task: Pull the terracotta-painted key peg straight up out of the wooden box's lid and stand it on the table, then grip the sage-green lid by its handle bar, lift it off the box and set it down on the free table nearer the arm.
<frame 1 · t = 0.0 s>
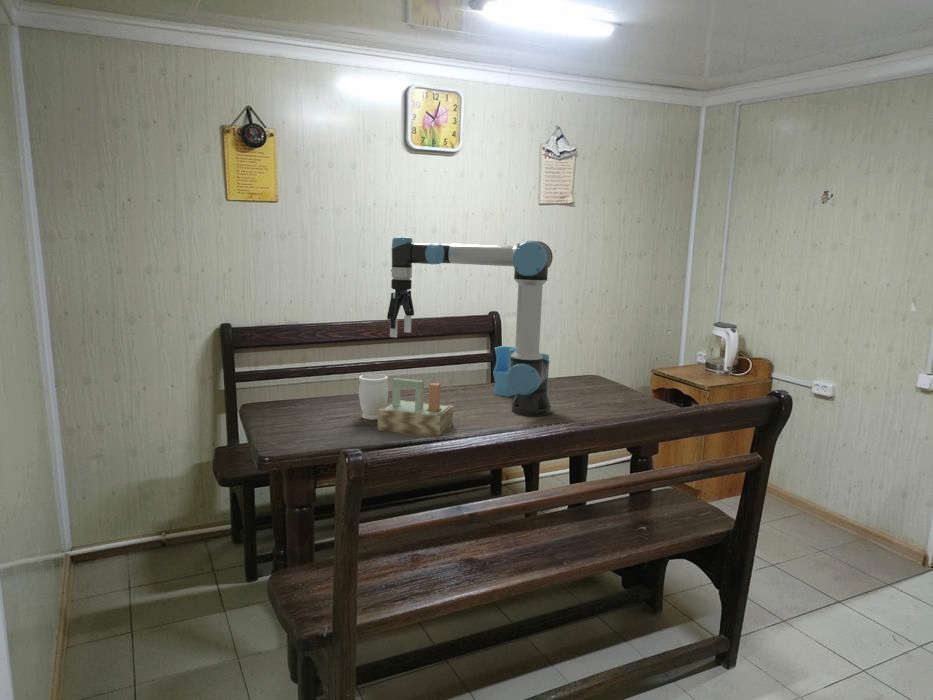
hand: (400, 334, 240), 28 cm above the table, fingers open, 13 cm apart
lid: (416, 410, 217), point 6 cm above the table, touching wooden box
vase: (504, 394, 269), on the table
key peg: (433, 426, 216), point 1 cm above the table, touching wooden box
wooden box: (416, 427, 218), on the table
jar: (373, 417, 229), on the table
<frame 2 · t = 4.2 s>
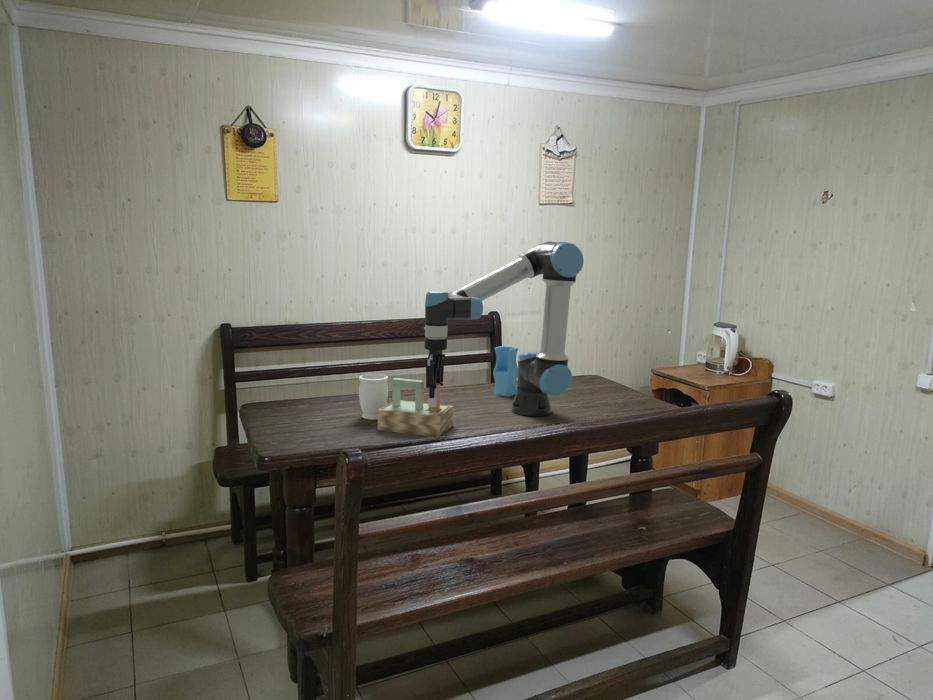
hand: (434, 405, 214), 9 cm above the table, fingers closed on key peg, 3 cm apart
key peg: (433, 426, 216), point 1 cm above the table, touching gripper, wooden box
everything else where it was.
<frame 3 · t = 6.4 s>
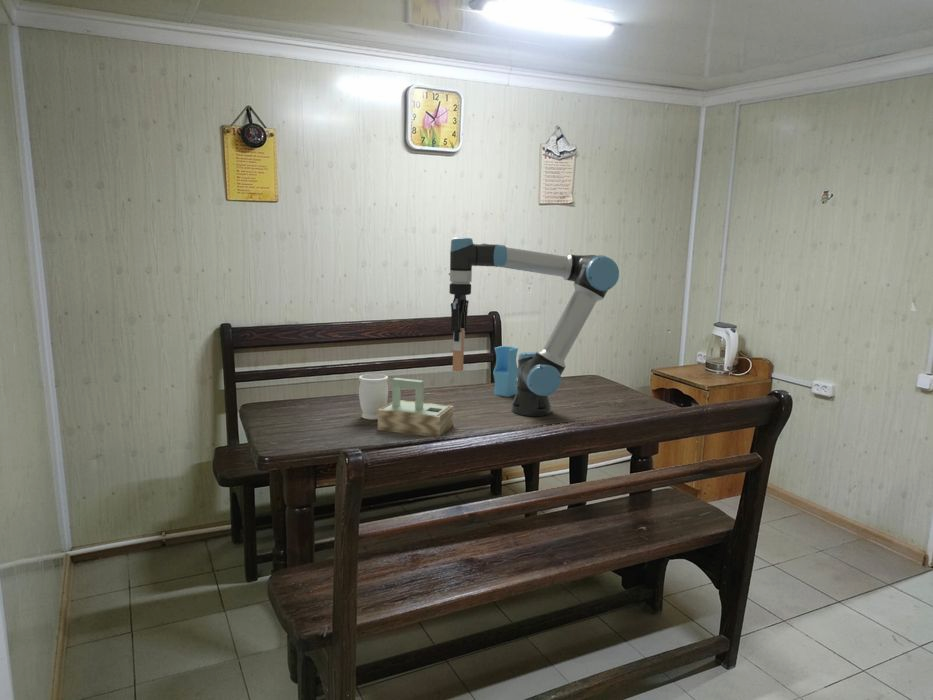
hand: (458, 349, 222), 26 cm above the table, fingers closed on key peg, 3 cm apart
key peg: (457, 370, 224), point 19 cm above the table, touching gripper
everything else where it was.
when the fingers open (9 cm above the table, at t = 8.5 s): key peg drops 1 cm, on the table.
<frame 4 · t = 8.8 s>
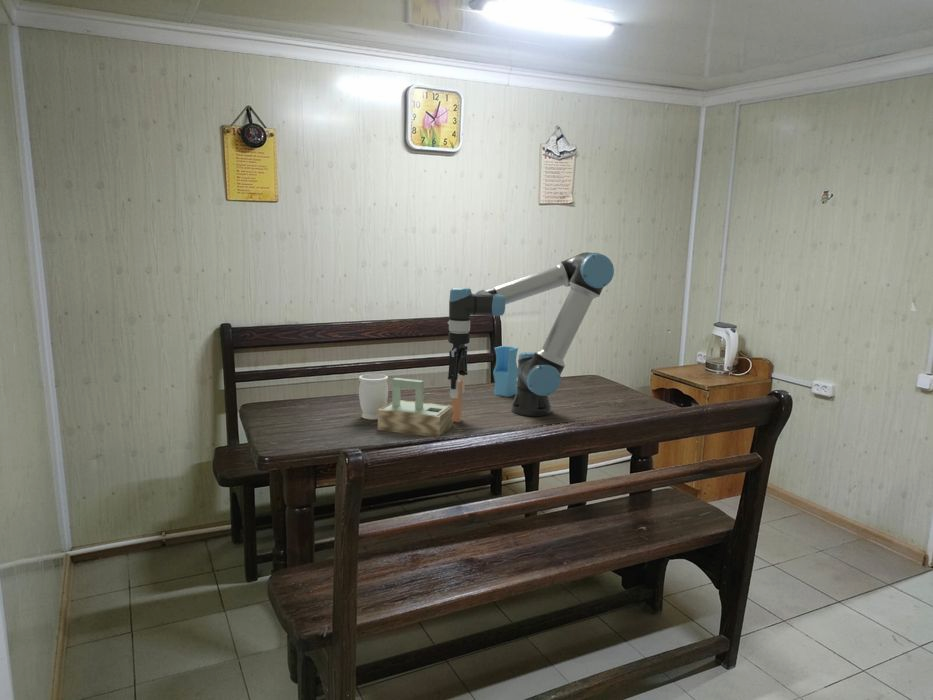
hand: (457, 395, 225), 10 cm above the table, fingers open, 7 cm apart
key peg: (456, 420, 227), on the table
everything else where it was.
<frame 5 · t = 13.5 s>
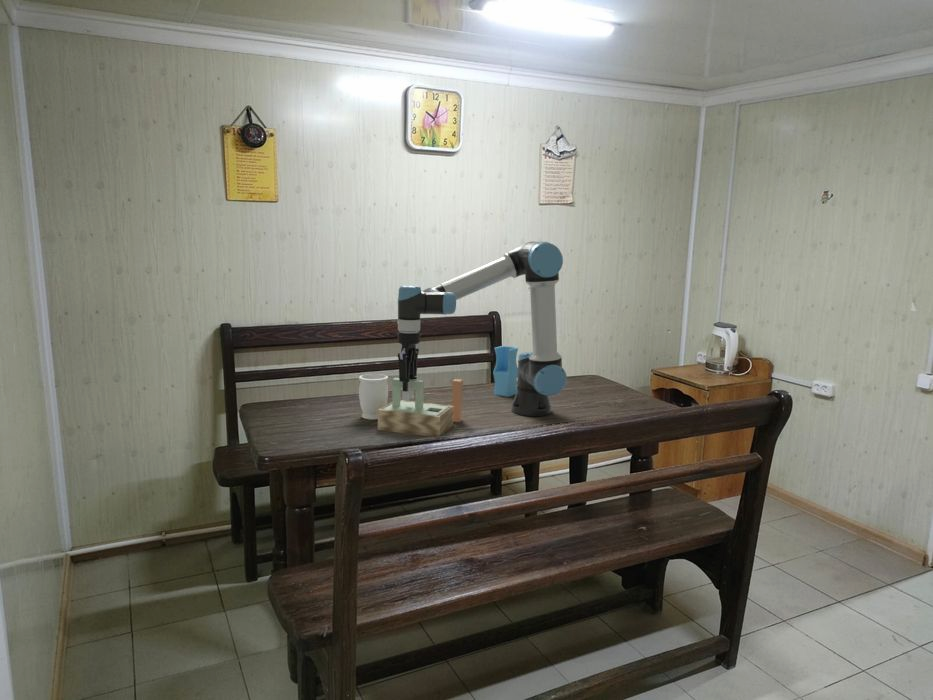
hand: (407, 398, 217), 10 cm above the table, fingers closed on lid, 2 cm apart
lid: (416, 410, 217), point 6 cm above the table, touching gripper, wooden box
everything else where it was.
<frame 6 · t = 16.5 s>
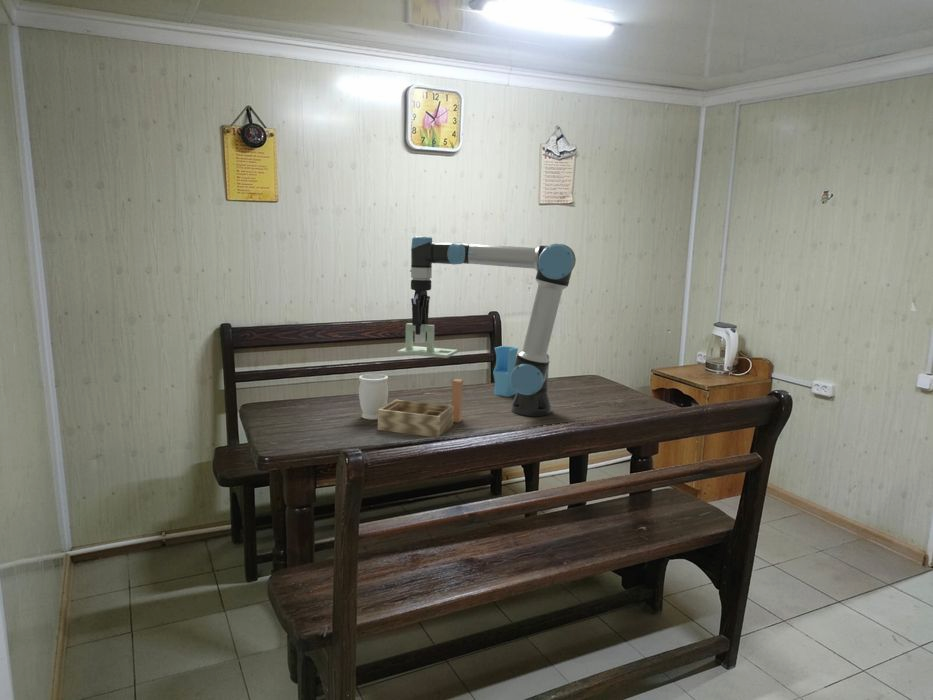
hand: (420, 342, 235), 26 cm above the table, fingers closed on lid, 2 cm apart
lid: (427, 352, 235), point 22 cm above the table, touching gripper
everything else where it was.
when the fingers open (5 cm above the table, at t = 19.8 s): lid drops 2 cm, on the table.
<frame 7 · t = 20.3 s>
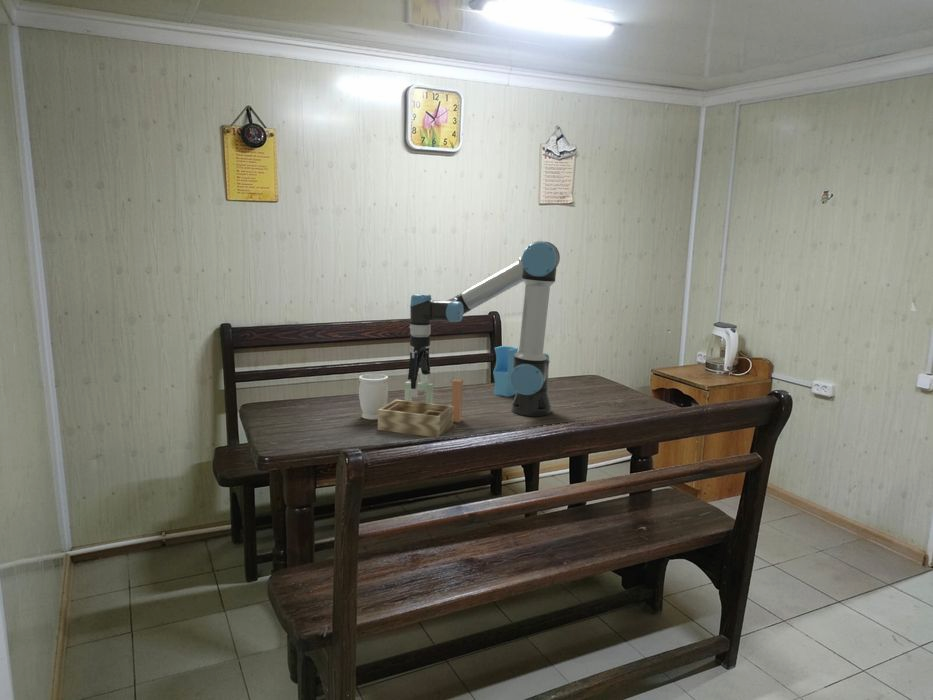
hand: (419, 393, 238), 6 cm above the table, fingers open, 9 cm apart
lid: (426, 411, 239), on the table
everything else where it was.
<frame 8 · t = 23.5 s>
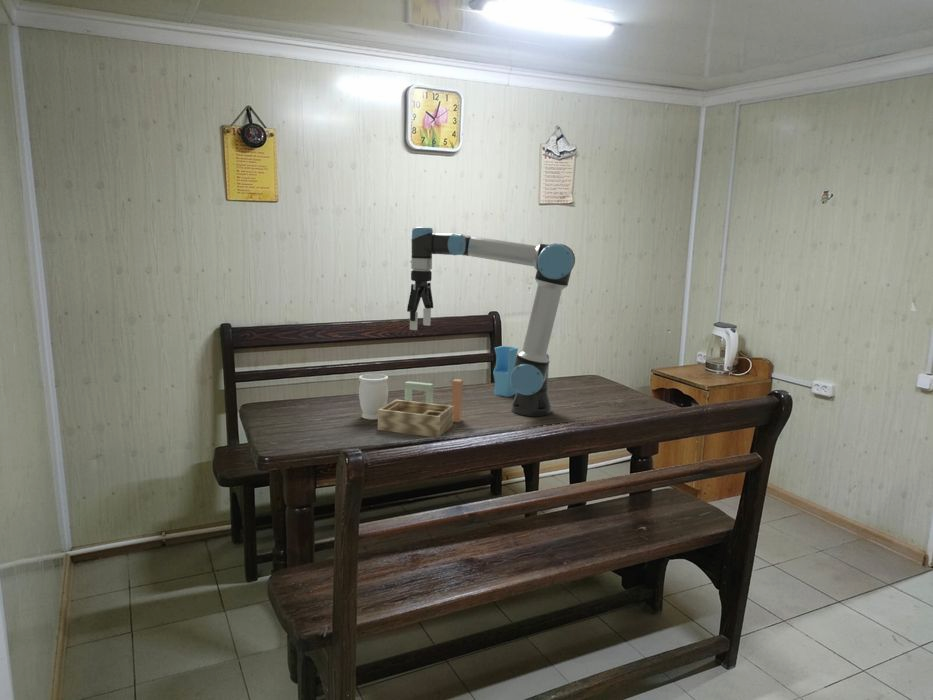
hand: (420, 327, 234), 32 cm above the table, fingers open, 13 cm apart
nothing on the table moved.
at the end: key peg inside the target area (3.9 cm from its centre), on the table; lid inside the target area (0.5 cm from its centre), on the table; lid tilted 0° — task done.
